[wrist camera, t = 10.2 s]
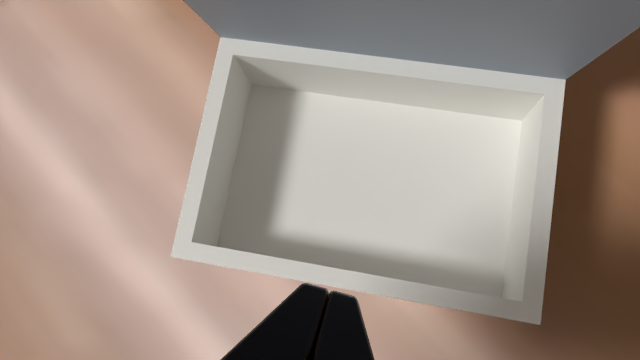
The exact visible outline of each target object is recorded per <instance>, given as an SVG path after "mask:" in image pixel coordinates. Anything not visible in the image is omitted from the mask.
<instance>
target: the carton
mask: <svg viewBox="0 0 640 360" xmlns="http://www.w3.org/2000/svg"><path fill="white" fill-rule="evenodd" d="M565 82H566V80H564V79H556V78H548V77H540V76H532V75H524V74H515V73H507V72H499V71H491V70H483V69H475V68H467V67H459V66H450V65H442V64H434V63H426V62H418V61H410V60H402V59H394V58H386V57H377V56H369V55H361V54H353V53H345V52H337V51H329V50H321V49H312V48H304V47H296V46H288V45H280V44H272V43H264V42H256V41H248V40H239V39H231V38H223V37H220V42H219V46H218V50H217V55H216V59H215V64H214V68H213V72H212V77H211V81H210V86H209V90H208V94H207V99H206V103H205V108H204V112H203V116H202V121H201V125H200V130H199V134H198V138H197V143H196V147H195V152H194V156H193V160H192V165H191V169H190V174H189V178H188V182H187V187H186V191H185V196H184V200H183V204H182V209H181V213H180V218H179V222H178V226H177V231H176V235H175V240H174V244H173V248H172V253H171V257H175V258H180V259H186V260H191V261H196V262H202V263H207V264H213V265H218V266H224V267H229V268H234V269H240V270H245V271H251V272H256V273H261V274H267V275H272V276H278V277H283V278H288V279H294V280H299V281H305V282H310V283H315V284H321V285H326V286H332V287H337V288H342V289H348V290H353V291H359V292H364V293H370V294H375V295H380V296H386V297H391V298H397V299H402V300H407V301H413V302H418V303H424V304H429V305H434V306H440V307H445V308H451V309H456V310H461V311H467V312H472V313H478V314H483V315H488V316H494V317H499V318H505V319H510V320H516V321H521V322H526V323H532V324H537V325H541V315H542V305H543V296H544V286H545V276H546V266H547V257H548V247H549V237H550V228H551V218H552V208H553V198H554V189H555V179H556V169H557V160H558V150H559V140H560V130H561V121H562V111H563V101H564V92H565Z"/></svg>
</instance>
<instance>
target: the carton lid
mask: <svg viewBox="0 0 640 360" xmlns="http://www.w3.org/2000/svg"><path fill="white" fill-rule="evenodd" d="M183 1H184V2H185V3H186V4H187V5H188V6H189V7H190V8H191V9H192V10H193V11H195V12H196V13H197V14H198V15H199V16H200V17H201V18H202V19H203V20H204V21H205V22H206V23H207V24H208V25H209V26H210V27H211V28H212V29H213V30H214V31H215V32H216V33H217V34H218V35H219V36H220V37H223V38H231V39H239V40H248V41H256V42H264V43H272V44H280V45H288V46H296V47H304V48H313V49H321V50H329V51H337V52H345V53H353V54H361V55H369V56H378V57H386V58H394V59H402V60H410V61H418V62H426V63H434V64H442V65H451V66H459V67H467V68H475V69H483V70H491V71H499V72H507V73H516V74H524V75H532V76H540V77H548V78H556V79H564V80H566V79H568V78H569V77H570V76H572V75H573V74H575V73H576V72H577V71H579V70H580V69H582V68H583V67H584V66H586V65H587V64H589V63H590V62H592V61H593V60H594V59H596V58H597V57H599V56H600V55H601V54H603V53H604V52H606V51H607V50H608V49H610V48H611V47H613V46H614V45H615V44H617V43H618V42H620V41H621V40H623V39H624V38H625V37H627V36H628V35H630V34H631V33H632V32H634V31H635V30H637V29H638V28H639V27H640V0H183Z"/></svg>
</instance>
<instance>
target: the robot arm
mask: <svg viewBox="0 0 640 360" xmlns="http://www.w3.org/2000/svg"><path fill="white" fill-rule="evenodd" d="M328 295H329V296H328ZM221 360H374V356H373V353H372V349H371V346H370V342H369V339H368V335H367V332H366V328H365V325H364V321H363V318H362V314H361V311H360V307H359V303H358V301H357V299H356V298H355V297H354V296H352V295H348V294H344V293H341V292H337V291H331V292H330V293H329V292H328V290H327V289H326V288H323V287H319V286H316V285H312V284H308V283H304V284H302V285H300V286H299V287H298V288H297V289H296V290H295V291H294V292H293V293H292V294H290V295H289V296H288V297H287V298H286V299H285V300H284V301H283V302H282V303H281V304H280V305H279V306H278V307H277V308H275V309H274V310H273V311H272V312H271V313H270V314H269V315H268V316H267V317H266V318H265V319H264V320H263V321H262V322H260V323H259V324H258V325H257V326H256V327H255V328H254V329H253V330H252V331H251V332H250V333H249V334H248V335H247V336H245V337H244V338H243V339H242V340H241V341H240V342H239V343H238V344H237V345H236V346H235V347H234V348H233V349H232V350H230V351H229V352H228V353H227V354H226V355H225V356H224V357H223V358H222V359H221Z"/></svg>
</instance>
